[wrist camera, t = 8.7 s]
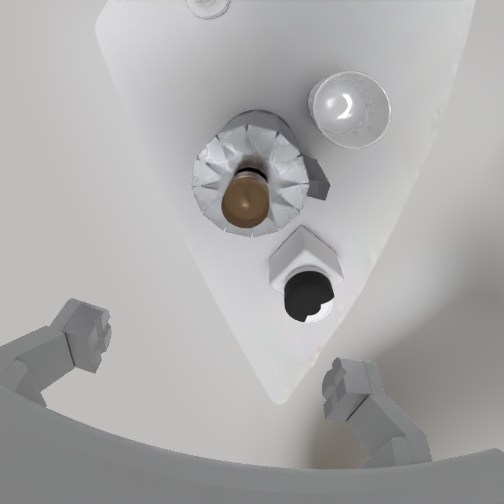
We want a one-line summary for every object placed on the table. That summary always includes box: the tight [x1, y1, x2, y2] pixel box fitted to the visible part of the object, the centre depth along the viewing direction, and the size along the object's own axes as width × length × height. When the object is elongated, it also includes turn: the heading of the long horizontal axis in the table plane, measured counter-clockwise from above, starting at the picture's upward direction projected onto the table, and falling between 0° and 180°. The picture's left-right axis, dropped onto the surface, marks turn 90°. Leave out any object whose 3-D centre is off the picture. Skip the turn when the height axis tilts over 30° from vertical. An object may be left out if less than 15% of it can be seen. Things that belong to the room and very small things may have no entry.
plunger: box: [221, 167, 269, 228], centre depth 29 cm, size 7×7×18 cm
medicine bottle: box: [269, 226, 344, 322], centre depth 41 cm, size 7×7×12 cm
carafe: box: [192, 110, 330, 237], centre depth 32 cm, size 10×12×16 cm
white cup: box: [308, 71, 391, 149], centre depth 31 cm, size 8×8×10 cm
